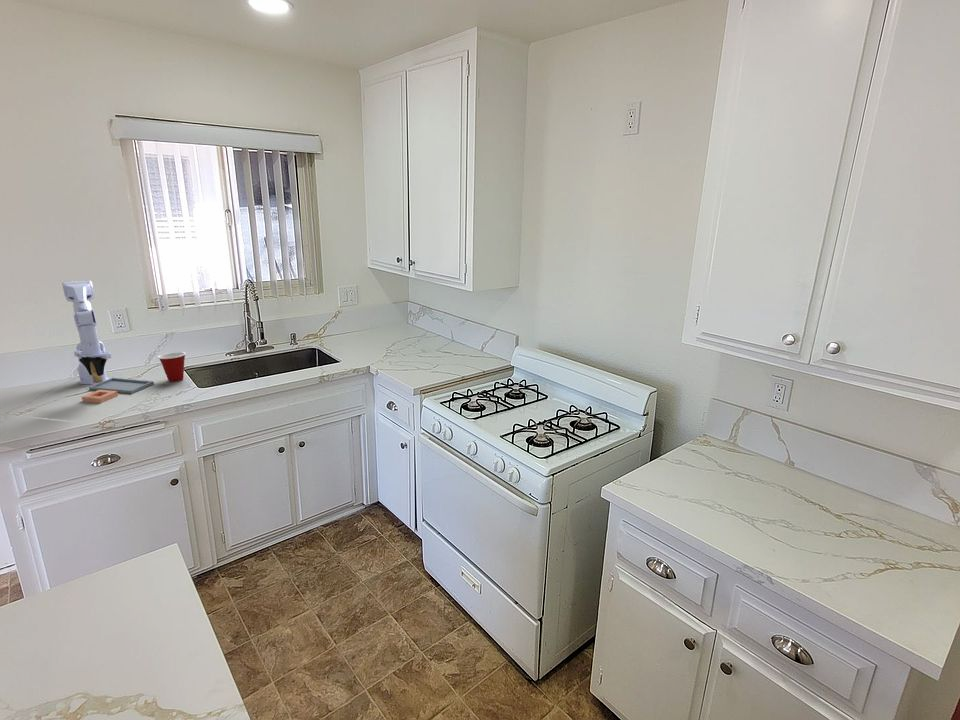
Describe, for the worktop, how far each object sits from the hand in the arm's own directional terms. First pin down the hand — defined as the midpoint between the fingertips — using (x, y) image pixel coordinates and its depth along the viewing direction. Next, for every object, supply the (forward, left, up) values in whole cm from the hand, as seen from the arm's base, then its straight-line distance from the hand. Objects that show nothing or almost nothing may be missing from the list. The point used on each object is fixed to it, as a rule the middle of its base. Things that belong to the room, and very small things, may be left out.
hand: (96, 374), depth 207 cm
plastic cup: (+12, +26, -11) cm, 31 cm away
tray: (-2, +12, -10) cm, 16 cm away
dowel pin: (0, 0, -3) cm, 3 cm away
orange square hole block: (0, -1, -10) cm, 10 cm away
